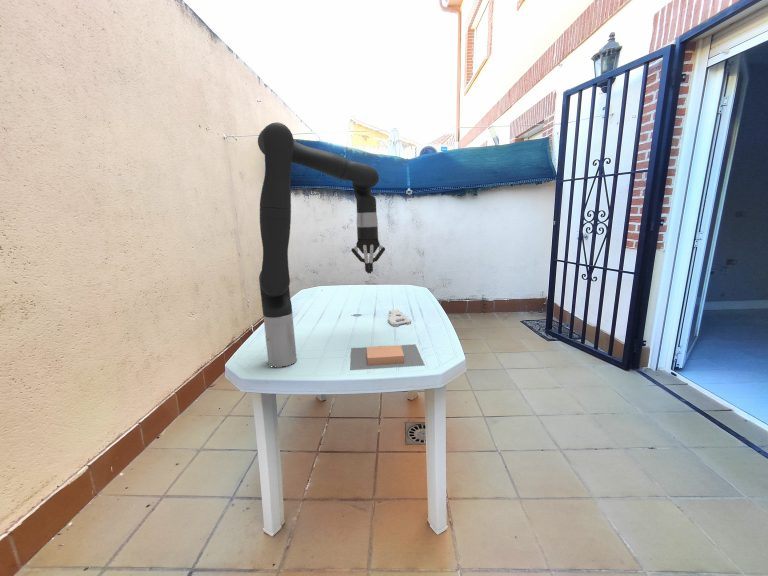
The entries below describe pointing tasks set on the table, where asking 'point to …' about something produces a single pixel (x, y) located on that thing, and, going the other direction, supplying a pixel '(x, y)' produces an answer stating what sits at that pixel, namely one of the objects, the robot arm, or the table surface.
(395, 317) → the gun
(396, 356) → the tile
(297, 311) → the table surface
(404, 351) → the mat
